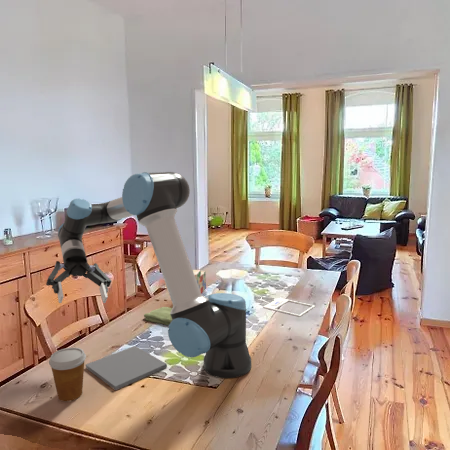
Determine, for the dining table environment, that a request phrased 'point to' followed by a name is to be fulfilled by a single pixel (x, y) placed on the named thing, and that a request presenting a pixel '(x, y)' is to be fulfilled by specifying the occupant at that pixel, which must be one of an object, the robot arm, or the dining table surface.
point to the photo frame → (281, 301)
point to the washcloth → (160, 316)
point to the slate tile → (125, 367)
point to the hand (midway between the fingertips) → (84, 300)
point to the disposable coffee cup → (68, 372)
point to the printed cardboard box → (200, 279)
